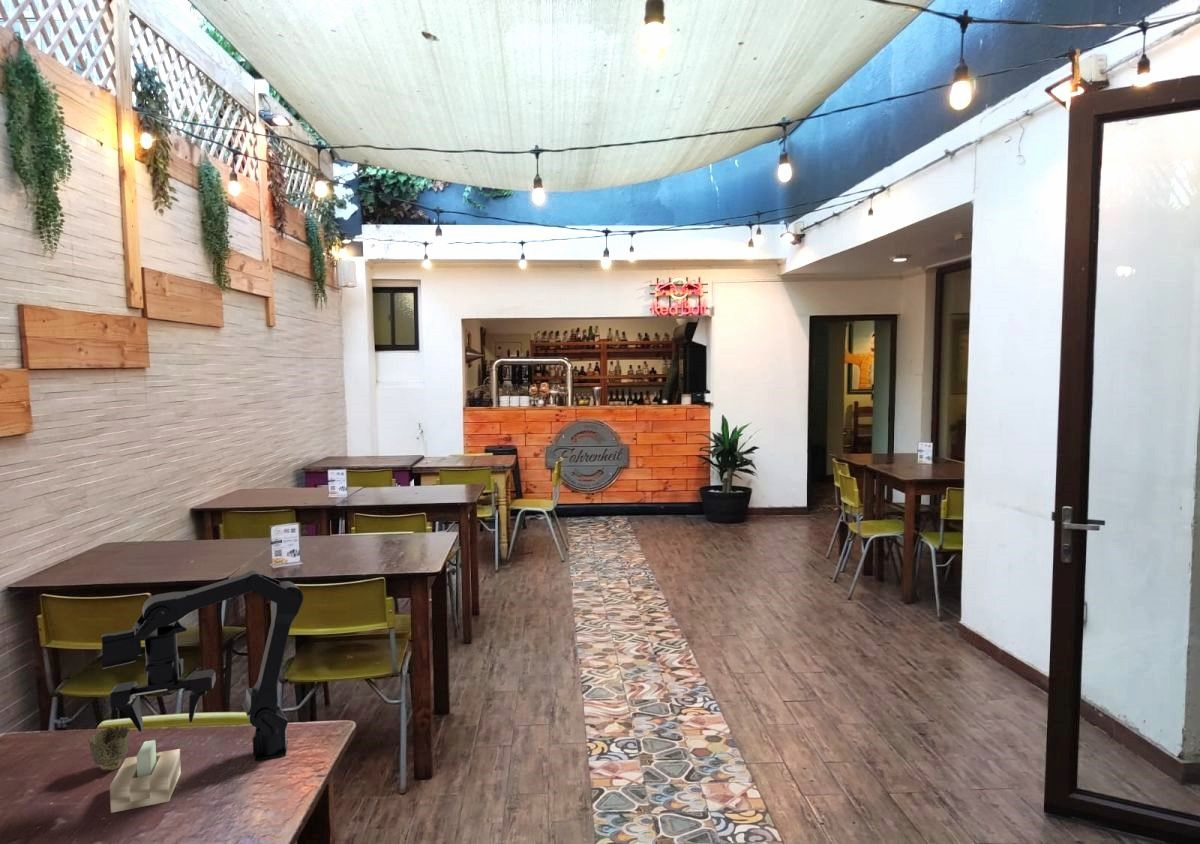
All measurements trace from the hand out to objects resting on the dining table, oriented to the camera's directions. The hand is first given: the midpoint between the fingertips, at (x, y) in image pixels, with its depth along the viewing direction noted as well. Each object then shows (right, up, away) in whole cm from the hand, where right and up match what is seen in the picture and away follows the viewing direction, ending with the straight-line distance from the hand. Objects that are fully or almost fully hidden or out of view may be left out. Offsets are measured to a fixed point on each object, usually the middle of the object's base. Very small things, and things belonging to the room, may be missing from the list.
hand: (166, 726), depth 144 cm
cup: (-17, -13, +6) cm, 22 cm away
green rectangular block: (-2, -11, -3) cm, 12 cm away
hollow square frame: (-2, -13, -3) cm, 13 cm away
